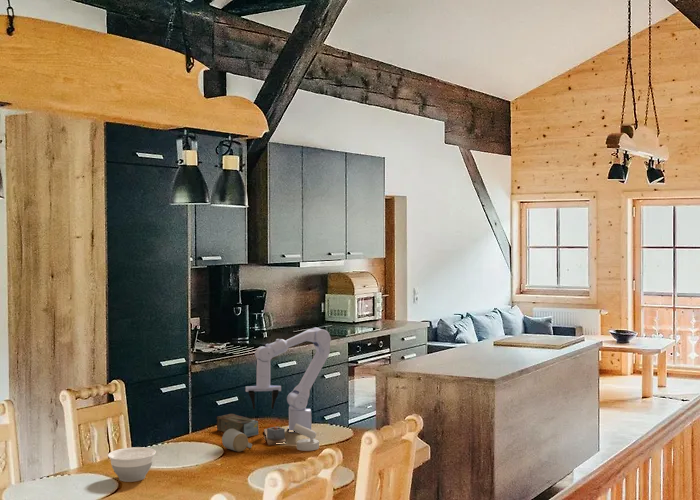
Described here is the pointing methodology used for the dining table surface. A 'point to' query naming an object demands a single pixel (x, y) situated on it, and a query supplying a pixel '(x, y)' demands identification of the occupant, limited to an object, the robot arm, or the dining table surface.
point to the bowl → (131, 462)
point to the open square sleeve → (276, 433)
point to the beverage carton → (237, 424)
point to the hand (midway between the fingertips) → (263, 408)
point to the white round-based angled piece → (306, 443)
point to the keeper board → (272, 442)
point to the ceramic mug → (235, 440)
